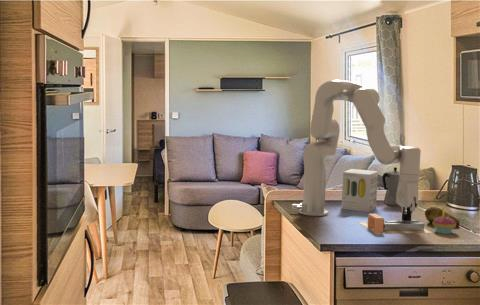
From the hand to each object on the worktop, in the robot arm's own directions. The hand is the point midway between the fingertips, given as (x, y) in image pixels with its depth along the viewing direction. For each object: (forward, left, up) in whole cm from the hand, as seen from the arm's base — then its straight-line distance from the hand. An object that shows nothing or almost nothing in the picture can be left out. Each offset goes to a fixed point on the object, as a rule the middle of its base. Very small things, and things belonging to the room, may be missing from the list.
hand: (406, 223), depth 216 cm
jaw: (-4, -3, -1) cm, 5 cm away
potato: (+16, +1, -3) cm, 16 cm away
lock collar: (-15, -6, -1) cm, 16 cm away
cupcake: (+11, -10, -3) cm, 15 cm away
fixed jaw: (-5, -6, -1) cm, 8 cm away
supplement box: (-4, +39, -3) cm, 39 cm away
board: (-6, -2, -2) cm, 7 cm away
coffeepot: (+17, +49, -3) cm, 52 cm away
